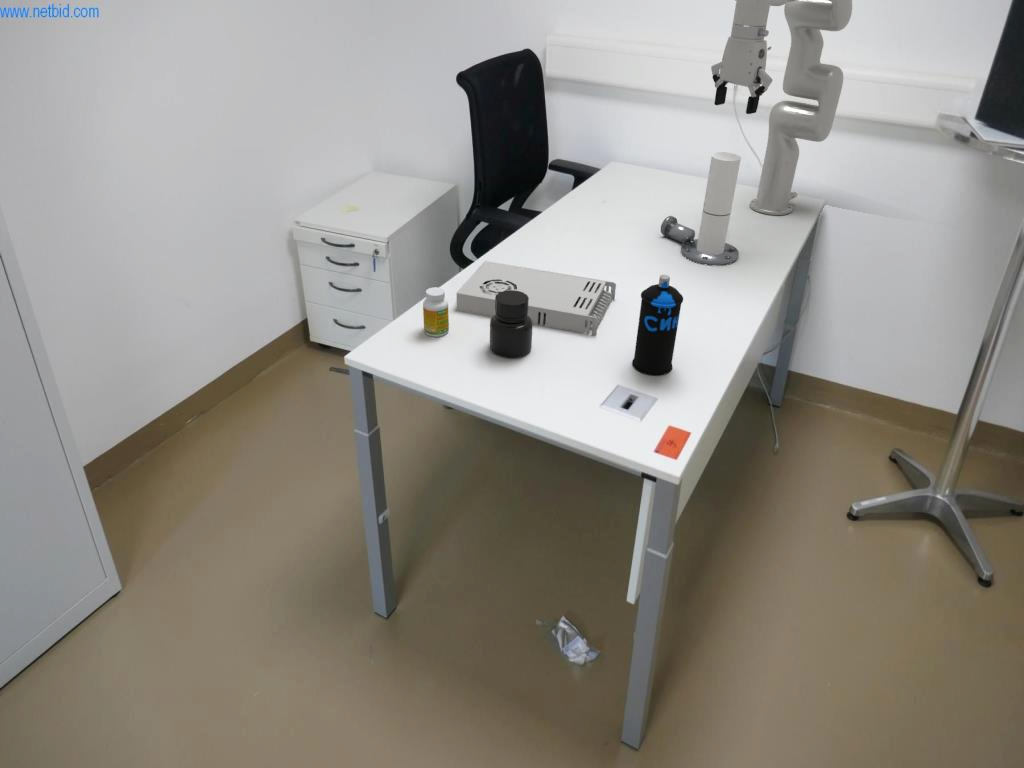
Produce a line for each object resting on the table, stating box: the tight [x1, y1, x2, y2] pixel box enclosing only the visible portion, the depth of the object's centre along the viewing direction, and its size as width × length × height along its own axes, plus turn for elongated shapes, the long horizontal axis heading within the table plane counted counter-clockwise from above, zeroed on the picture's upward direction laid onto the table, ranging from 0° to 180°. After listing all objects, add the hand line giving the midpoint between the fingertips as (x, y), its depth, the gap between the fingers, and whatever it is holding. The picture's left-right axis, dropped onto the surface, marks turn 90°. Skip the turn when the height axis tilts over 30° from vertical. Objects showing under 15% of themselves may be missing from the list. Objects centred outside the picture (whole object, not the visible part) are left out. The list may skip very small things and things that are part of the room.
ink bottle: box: [489, 290, 533, 359], centre depth 163 cm, size 10×9×12 cm
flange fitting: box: [660, 215, 739, 266], centre depth 212 cm, size 23×15×6 cm, turn 37°
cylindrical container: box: [697, 152, 742, 255], centre depth 203 cm, size 7×7×25 cm
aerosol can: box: [631, 274, 684, 376], centre depth 156 cm, size 8×8×20 cm
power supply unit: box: [455, 260, 617, 336], centre depth 182 cm, size 19×33×5 cm, turn 71°
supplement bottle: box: [422, 286, 450, 338], centre depth 169 cm, size 5×5×10 cm
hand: (734, 108), depth 190 cm, fingers open, 9 cm apart
